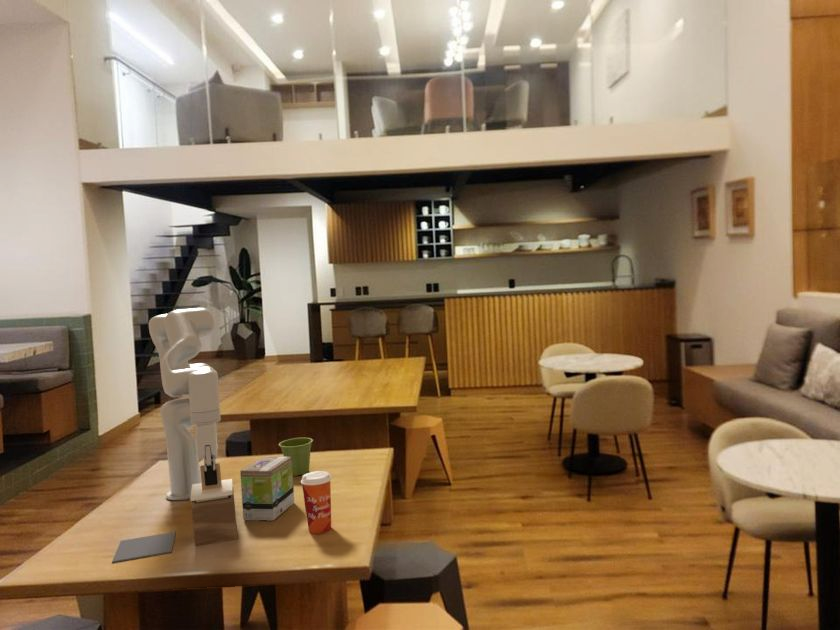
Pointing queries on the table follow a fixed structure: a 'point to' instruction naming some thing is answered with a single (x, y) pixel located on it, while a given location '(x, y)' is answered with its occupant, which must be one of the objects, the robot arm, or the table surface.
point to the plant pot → (298, 454)
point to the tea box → (267, 488)
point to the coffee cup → (317, 500)
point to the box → (214, 520)
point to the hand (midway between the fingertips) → (211, 482)
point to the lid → (211, 488)
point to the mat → (144, 547)
